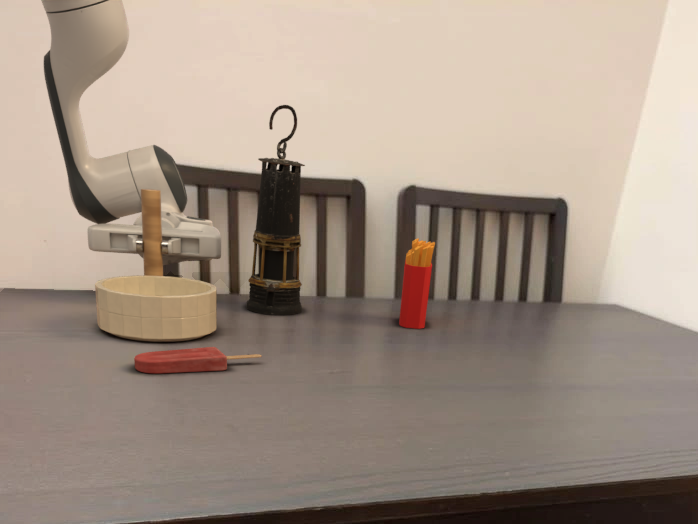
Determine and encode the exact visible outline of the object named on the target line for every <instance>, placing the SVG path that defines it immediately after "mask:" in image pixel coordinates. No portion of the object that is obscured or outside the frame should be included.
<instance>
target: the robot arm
mask: <svg viewBox="0 0 698 524" xmlns="http://www.w3.org/2000/svg"><path fill="white" fill-rule="evenodd" d="M41 4H42V6H43V9H44V11H45V14H46V17H47V20H48V24H49V28H50V47H49V48H50V49H49V50H48V51H47V53H46V54H44V55H43V75H44V81H45V87H46V90H47V96H48V99H49V104H50V109H51V113H52V116H53V121H54V125H55V129H56V133H57V136H58V140H59V145H60V149H61V153H62V157H63V160H64V164H65V170H66V174H67V175H66V176H67V183H68V191H69V195H70V198H71V202H72V205H73V206H74V208H75V209H76V211H77V213H78V214H79V216H80V217H82V218H84V219H86V220H87V221H89V222H92V223H95V224H92V225H90V226H88V227H87V244H88V249H89V250H90V251H92V252H99V253H116V254H117V253H118V254H132V255H133V254H134V255H138V256H139V257H141V258H142V259H143V235H142V209H141V189H155V190H160V191H161V219H162V242H161V246H162V254H163V266H167V265H168V266H169V265H171V264H178V263H185V262H205V261H213V260H220V259H221V258H222V235H221V232H220V230H219V229H218V228H217V227H215V226H214V222H213V221H212V220H211V219H205V218H201V217H200V218H199V217H195V216H189V215H188V216H187V215H185V213H184V211H185V209H186V207H187V203H188V194H187V190H186V185H185V182H184V179H183V176H182V173H181V171H180V169H179V166H178V164H177V163H176V161H175V159H174V158H173V156H172V155H171V154H170V153H168V151H166V150H164V148H162V147H160V146H159V145H157V144H152V145H146V146H143V147H138V148H135V149H134V148H133V149H130V150H128V151H124V152H121V153H117V154H112V155H107V156H104V157H100V158H99V157H98V158H96V157H93V156H92V155H91V153H90V150H89V145H88V140H87V137H86V133H85V128H84V123H83V120H82V115H81V110H80V100H81V98H82V96H83V94H84V93H85V91H86V90H87V89H88V88H89V87H91V86H92V85H93V84H94V83H96V81H98V80H99V79H101V78H102V77H103V76H104V75H106V74H107V73H108V72H109V71H110V70H111V69H112V68H114V66H115V65H116V64H117V63H118V62H119V61H120V59H122V57H123V55H124V54H125V52H126V50H127V47H128V43H129V39H130V29H129V23H128V19H127V14H126V10H125V7H124V4H123V0H41ZM140 213H141V214H140ZM136 214H140V215H139V216H138V217H137V218H136V219H135V220H134V222H133V224H121V223H111V222H113V221H114V222H115V221H117V220H119V219H121V218H124V217H128V216H132V215H136Z"/></svg>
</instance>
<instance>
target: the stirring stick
mask: <svg viewBox="0 0 698 524" xmlns="http://www.w3.org/2000/svg"><path fill="white" fill-rule="evenodd" d="M141 209H142V212H141V214H142V235H143V258H142V260H143V275H146V276H164V265H163V254H162V246H161V242H162V219H161V191H160V190H155V189H141Z"/></svg>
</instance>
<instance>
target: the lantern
mask: <svg viewBox="0 0 698 524" xmlns="http://www.w3.org/2000/svg"><path fill="white" fill-rule="evenodd" d="M284 109H285V110H289V111H290V113H291V114H292V116H293V127H292V129H291V132H290V133H289V134H288V135H287V137H283V138H282V139H281V140H280V141H278V143H277V144H276V156H277V158H276V157H275V158H274V157H270V158H269V157H263V158H262V157H260V158H259V157H258V158H257V160H258V161H260V162H261V174H260V183H259V185H260V187H259V196H258V206H257V215H256V222H255V230H254V231H253V232H254V233H253V235H252V243H253V258H252V269H251V275H250V277H249V279H248V280H247V282H248V283H249V285H248V286H249V293H248V294H249V298H248V300H247V301H246V306H245V307H246V309H247V310H249V311H250V312H254V313H258V314H261V315H262V314H263V315H273V316H290V315H296V314H297V315H298V314H300V313H301V312H302V311H303V310H302V309H303V308H302V303H301V287H302V285H303V284H302V282H301V280H300V248H301V247H302V240H301V239H302V238H301V234H300V227H301V226H300V224H301V223H300V221H301V220H300V219H301V178H302V177H301V176H302V175H301V174H302V167H306V165H305V164H303V163H301V162H299V161H294V160H290V159H286V158H287V152H286V150H287V147H288V144H287V142H289V141H290V140H291V139H292V138H293V137H294V135H295V133H296V131H297V127H298V116H297V112H296V109H295V108H293V107H292V106H291V105H288V104H280V105H279V106H277V107H275V108H274V110H273V111H272V112H271V114H270V117H269V122H268V124H269V126H268V127H269V131H270V130H271V131H272V130H273V123H274V118H275V115H276V114H277V113H278V111H280V110H284ZM282 144H283V145H282ZM281 146H282V147H281ZM258 248H259V249H258ZM295 250H296V270H295V271H296V273H295V276H294V266H295V265H294V263H295ZM257 255H258V273H256V265H257Z"/></svg>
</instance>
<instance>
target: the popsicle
mask: <svg viewBox="0 0 698 524" xmlns="http://www.w3.org/2000/svg"><path fill="white" fill-rule="evenodd" d="M262 357H263V356H262V354H257V353H256V354H255V353H254V354H240V355H238V354H237V355H225V353H223V352H222V351H221V350H220V349H219V348H218V347H216V346H207V347H192V348H182V349H170V350H156V351H148V352H146V351H145V352H141V353H138V354H136V355H135V356H134V358H133V360H134V361H133V362H134V369H135V370H136V371H138V372H141V373H145V374H155V375H157V374H158V375H159V374H176V373H178V374H179V373H196V372H220V371H227V370H228V361H229V360H243V359H257V358H258V359H259V358H262Z"/></svg>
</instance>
